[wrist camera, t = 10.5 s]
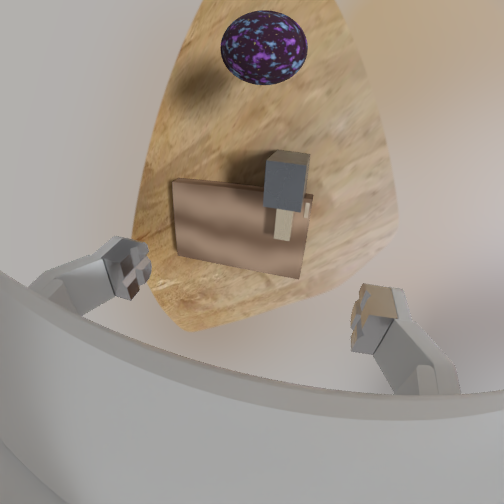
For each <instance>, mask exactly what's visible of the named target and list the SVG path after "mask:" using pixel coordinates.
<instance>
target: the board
mask: <svg viewBox="0 0 504 504" xmlns="http://www.w3.org/2000/svg"><path fill="white" fill-rule="evenodd" d="M172 190H173V206H174V219H175V231H176V242H177V252H178V256H183V257H188V258H193V259H197V260H202V261H207V262H212V263H217V264H222V265H227V266H232V267H237V268H242V269H248V270H253V271H258V272H263V273H268V274H274V275H279V276H284V277H290V278H295V279H299V277H300V271H301V266H302V260H303V255H304V249H305V243H306V238H307V232H308V225H309V219H310V213H311V206H312V200H313V195H312V194H306V193H305V197H304V201H303V205H302V209H301V213H300V212H294V217H293V225H292V232H291V238H290V241H285V240H279V239H274V231H275V221H276V211H277V209H275V208H269V207H263V197H264V187H259V186H251V185H243V184H234V183H226V182H216V181H206V180H196V179H184V178H178V179H177V180H175V181H173V182H172Z"/></svg>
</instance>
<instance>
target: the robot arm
mask: <svg viewBox="0 0 504 504" xmlns="http://www.w3.org/2000/svg"><path fill="white" fill-rule="evenodd" d="M148 252H149V250H148V246H147V244H146V243H145V242H141V241H137V240H133V239H128V238H124V237H119V236H115V237H112V238H111V239H110V240H109V241H108V242H106V243H105V244H104V245H103V246H102V247H101V248H100V249H98V250H97V251H96V252H95V253H94V254H93V255H91V256H90V255H88V256H85V257H82V258H79V259H77V260H74V261H71V262H69V263H66V264H63V265H61V266H58V267H55V268H53V269H50V270H48V271H45V272H44V273H43V274H41V275H40V276H39V277H38V278H37V279H36V280H35V281H34V282H33V283H32V284H31V285H30V286H29V287H28V288H27V287H25V286H24V285H22V284H21V283H19V282H17V281H16V280H14V279H13V278H11V277H9V276H8V275H6V274H5V273H3V272H2V271H0V504H504V390H498V391H491V392H482V393H471V394H461V390H460V385H459V380H458V376H457V371H456V367H455V365H454V364H453V363H452V361H451V360H450V359H449V358H448V357H447V356H446V355H445V353H444V352H443V351H442V350H441V349H440V348H439V347H438V346H437V345H436V343H435V342H434V341H433V340H432V339H431V338H430V337H429V336H428V334H426V332H425V331H424V330H423V329H422V328H421V327H420V326H419V325H418V324H417V323H416V322H413V321H412V319H411V315H410V311H409V308H408V304H407V300H406V297H405V293H404V290H403V289H400V288H392V287H383V286H377V285H371V284H364V283H363V284H362V286H361V288H360V291H359V300H357V301H356V302H355V304H354V307H353V310H352V314H351V328H352V329H353V333H352V335H351V351H352V352H358V353H365V354H371V355H373V357H374V358H375V360H376V362H377V364H378V365H379V367H380V369H381V370H382V372H383V374H384V375H385V377H386V379H387V381H388V382H389V384H390V386H391V388H392V389H393V391H394V394H393V395H389V394H374V393H361V392H351V391H342V390H332V389H326V388H318V387H312V386H305V385H299V384H293V383H288V382H282V381H278V380H272V379H268V378H262V377H258V376H254V375H249V374H245V373H241V372H237V371H232V370H229V369H225V368H221V367H217V366H214V365H211V364H207V363H204V362H200V361H196V360H193V359H190V358H187V357H184V356H181V355H178V354H175V353H172V352H168V351H166V350H163V349H160V348H157V347H154V346H151V345H149V344H146V343H143V342H141V341H138V340H136V339H133V338H130V337H128V336H125V335H123V334H120V333H118V332H115V331H113V330H111V329H109V328H106V327H104V326H102V325H99V324H97V323H95V322H93V321H91V320H88V319H86V318H84V317H82V316H83V315H84V314H86V313H88V312H89V311H91V310H93V309H94V308H96V307H98V306H100V305H101V304H103V303H105V302H107V301H108V300H110V299H112V298H113V297H115V296H117V297H120V298H124V299H127V300H130V301H131V300H132V299H133V298H134V296H135V295H136V294H137V293H138V292H139V290H140V289H139V286H140V285H142V284H145V283H146V282H147V280H148V279H149V277H150V274H151V268H152V266H151V261H150V260H149V258H148V257H147V254H148Z"/></svg>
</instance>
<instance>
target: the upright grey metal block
mask: <svg viewBox="0 0 504 504" xmlns="http://www.w3.org/2000/svg"><path fill="white" fill-rule="evenodd" d="M309 161H310V154H306V153H299V152H291V151H284V150H277V151H276V152H275V153H274V154H273V155H271V156H270V157H269V158H268V159H267V160H266V170H265V184H264V197H263V207H269V208H275V209H277V211H276V221H275V231H274V239H279V240H285V241H290V238H291V232H292V225H293V217H294V212H300V213H301V209H302V205H303V201H304V197H305V193H306V185H307V177H308V169H309Z"/></svg>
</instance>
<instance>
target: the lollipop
mask: <svg viewBox="0 0 504 504" xmlns="http://www.w3.org/2000/svg"><path fill="white" fill-rule="evenodd" d="M307 50H308V46H307V40H306V37H305V34H304V32H303V30H302V29H301V27H300V26H299V25H298V24H297V23H296V22H295V21H294V20H293V19H291V18H290V17H288V16H286V15H284V14H282V13H279V12H275V11H255V12H251V13H248V14H245V15H243V16H241V17H239V18H238V19H236V20H235V21H234V22H233V23H232V24H231V25H230V26H229V27H228V28H227V30H226V31H225V33H224V35H223V38H222V41H221V56H222V59H223V62H224V64H225V65H226V67H227V68H228V70H229V71H230V72H231V73H232V74H233V75H235V76H236V77H238V78H239V79H241V80H243V81H246V82H248V83H252V84H256V85H272V84H277V83H280V82H283V81H285V80H287V79H289V78H290V77H292V76H293V75H294V74H296V73H297V72H298V71H299V69H300V68H301V67H302V65H303V64H304V62H305V59H306V56H307Z"/></svg>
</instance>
